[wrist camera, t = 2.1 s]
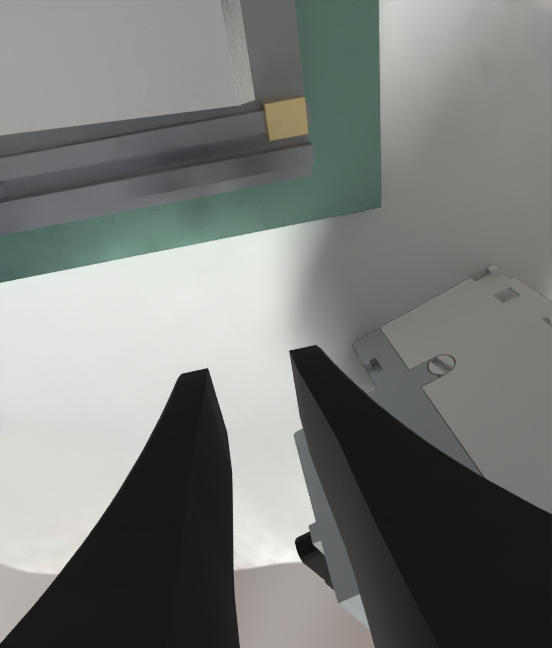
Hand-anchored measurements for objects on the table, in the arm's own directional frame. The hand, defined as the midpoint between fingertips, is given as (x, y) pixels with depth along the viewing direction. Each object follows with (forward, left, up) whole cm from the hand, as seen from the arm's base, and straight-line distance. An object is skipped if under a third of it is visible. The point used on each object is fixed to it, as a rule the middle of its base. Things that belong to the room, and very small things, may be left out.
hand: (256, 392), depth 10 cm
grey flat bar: (-3, +7, -4) cm, 9 cm away
